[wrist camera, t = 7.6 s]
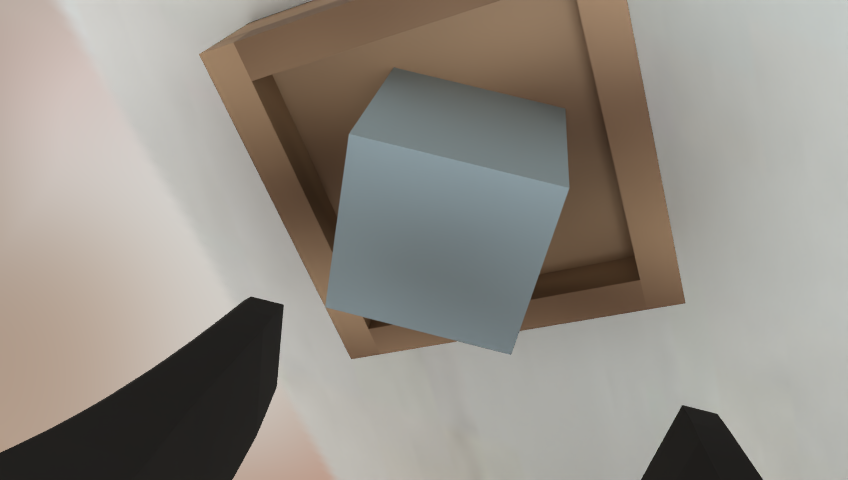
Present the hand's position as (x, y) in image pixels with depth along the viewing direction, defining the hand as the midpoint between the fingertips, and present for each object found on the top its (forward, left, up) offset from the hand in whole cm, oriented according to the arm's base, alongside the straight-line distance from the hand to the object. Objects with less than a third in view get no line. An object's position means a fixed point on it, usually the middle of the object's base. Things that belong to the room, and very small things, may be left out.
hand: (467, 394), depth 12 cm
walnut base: (+1, +1, -10) cm, 10 cm away
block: (+1, +1, -8) cm, 8 cm away
